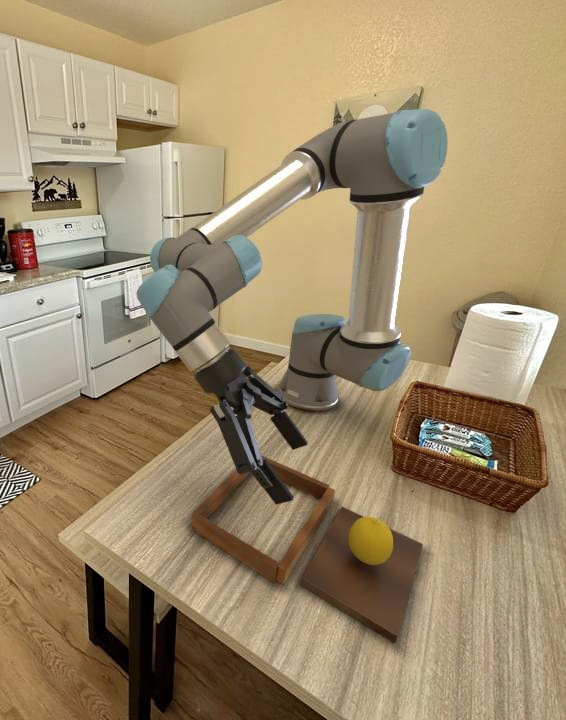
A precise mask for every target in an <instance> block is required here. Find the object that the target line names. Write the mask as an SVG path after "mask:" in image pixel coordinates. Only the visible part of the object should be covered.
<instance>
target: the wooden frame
mask: <svg viewBox="0 0 566 720" xmlns="http://www.w3.org/2000/svg"><path fill="white" fill-rule="evenodd" d="M260 455H261V458H262V460H265V459H266V460H267V461H268V462H269V464H270V465H271V466H272V468H273V469H274V471H275V472H276V473H277V475H278V476H279V477H280V479H281V480H282V481H283V483H284V484H286V485H289V486H291V487H294V488H296V489H298V490H300V491H302V492H304V493H305V494H309V495H311V496H313V497H314V498H317V499H319V501H318V503H317V505H316V506H315V507H314V509H313V511H312V512H311V513H310V516H308V519H307V520H306V522H305V523H304V525H303V526H302V528H301V529H300V531H299V533H298V534H297V536H296V537H295V539H294V540H293V542H292V543H291V545H290V546H289V548H288V550H287V552H286V553H285V555H284V556H283V557H282V559H281V560H280V562H279V561H277V560H275V559H274V558H272V557H271V556H269V555H267V554H266V553H264V552H262V551H261V550H259V549H257V548H255V547H254V546H252V545H250V543H247V542H246V541H244V540H242V539H241V538H239V537H237V536H236V535H234V534H232V533H231V532H230V531H228V530H226V529H224V528H222V527H221V526H219V525H218V524H216V523H214V522H212V521H211V520H209V518H210V517H211V515H213V513H214V512H215V511H216V510H217V509H218V508H219V507H220V506H221V505H222V504H223V503H224V501H225V500H226V499H227V498H228V497H229V496H230V495H231V494H232V493H233V492H234V491H235V490H236V489H237V487H239V486H240V484H241V483H242V482H243V481H244V480H245V479H246V478H247V477H248V476H249V475H250V474H251V472H247V473H245V474H242V475H240V474H239V473H238V472H237V470H236V469H234V470H233V471H232V472H231V473H230V474H229V475H228V476H227V477H226V478H225V479H224V480H223V481H222V483H221V484H219V486H218V487H217V488H215V489H214V491H212V492H211V493H210V494H209V495H208V496H207V498H206V499H204V501H202V502H201V504H199V505H198V506H197V508H195V510H193V512H192V513H191V527H192V528H194V529H195V530H194V532H195V533H196V534H197V535H199V536H200V537H202V538H204V539H206V540H207V541H208V542H210V543H211V544H213V545H215V546H216V547H217V548H219V549H221V550H222V551H224V552H226V553H227V554H229V555H230V556H231V557H233V558H235V559H236V560H238V561H239V562H241V563H243V564H244V565H245V566H247V567H249V568H250V569H252V570H253V571H255V572H256V573H258V574H260V575H261V576H263V577H264V578H266V579H267V580H269V581H270V582H272V583H275V582H276V581H277V582H278V583H280V584H282V586H283V585H285V583H286V582H287V580H288V579H289V577H290V575H291V574H292V572H293V570H294V568H295V567H296V565H297V563H298V562H299V560H300V558H301V556H302V555H303V552H304V551H305V550H306V548H307V546H308V545H309V543H310V541H311V539H312V538H313V536H314V534H315V533H316V532H317V530H318V528H319V527H320V525H321V522H322V521H323V519H324V518H325V516H326V515H327V512H328V511H329V509H330V507H331V505H332V504H333V502H334V497H335V493H336V489H334V488H332V487H330V484H328V483H326V482H323V481H321V480H318V479H317V478H314V477H312V476H310V475H307V474H305V473H304V472H300V471H298V470H296V469H294V468H292V467H289V466H287V465H285V464H282V463H280V462H278V461H276V460H273V459H271V458H268V457H267V456H264V455H262V454H260ZM253 458H254V457H253Z"/></svg>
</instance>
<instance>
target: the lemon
mask: <svg viewBox="0 0 566 720" xmlns="http://www.w3.org/2000/svg"><path fill="white" fill-rule="evenodd" d="M390 529H391V528H389V526H388V525H387V524H386V523H385V522H383V520H381V519H379V518H377V517H373V516H363V517H362V518H360V519H358V520H357V521H356V522H355V523H354V524H353V525H352V527H351V529H350V532H349V537H348V538H349V546H350V549H351V551H352V552H353V554H354V555H355V556H356V557H357V558H358V559H359V560H360V561H362V562H364V563H366V564H369V565H379V564H382V563H384V562H385V561H386V560H387V559H388V558H389V557H390V555H391V553H392V550H393V536H392V533H391V531H390Z"/></svg>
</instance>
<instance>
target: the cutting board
mask: <svg viewBox="0 0 566 720" xmlns="http://www.w3.org/2000/svg"><path fill="white" fill-rule="evenodd" d="M362 517H364V516H363V515H361V514H359V513H358V512H354V511H352V510H350V509H349V508H346V507H344V506H341V507H340V508H339V510H338V513H337V514H336V515H335V518H334V519H333V521H332V523H331V524H330V526H329V529H328V530H327V532H326V533H325V535H324V537H323V540H322V541H321V543H320V545H319V547H318V549H317V550H316V552H315V554H314V555H313V557H312V559H311V560H310V563H309V564H308V566H307V568H306V570H305V572H304V574H303V575H302V577H301V579H300V585H301V587H303V588H305V589H307V590H308V591H310V592H311V593H313V594H314V595H316V596H318V597H319V598H321V599H323V600H324V601H326V602H327V603H329V604H331V605H332V606H334V607H336V609H339V610H340V611H342V612H343V613H345V614H347V615H349V617H351V618H353V619H355V620H357V621H358V622H360V623H361V624H363V625H365V626H366V627H368V628H369V629H371V630H373V631H374V632H376V633H377V634H379V635H381V636H382V637H384V638H385V639H387V640H388V641H390V642H392V643H393V644H396V642H397V640H398V637H399V634H400V630H401V626H402V623H403V619H404V617H405V616H404V615H405V611H406V608H407V605H408V601H409V598H410V593H411V589H412V588H413V583H414V579H415V576H416V572H417V568H418V565H419V560H420V557H421V553H422V550H423V547H424V544H423V543H422V542H420V541H417V540H415V539H413V538H411V537H409V536H407V535H404V534H403V533H400V532H398V531H396V530H393V529H392V528H389V529H390V531H391V533H392V536H393V550H392V553H391V555H390V557H389V558H388V559H387V560H386V561H385V562H384V563H382V564H379V565H369V564H366V563H364V562H362V561H360V560H359V559H358V558H357V557H356V556H355V555H354V554H353V552H352V551H351V549H350V546H349V538H348V537H349V532H350V529H351V527H352V525H353V524H354V523H355V522H356V521H357V520H358V519H360V518H362Z"/></svg>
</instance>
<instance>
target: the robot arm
mask: <svg viewBox="0 0 566 720" xmlns="http://www.w3.org/2000/svg"><path fill="white" fill-rule="evenodd" d="M448 142H449V141H448V132H447V128H446V125H445V122H444V121H443V120H442V118H441V116H440V114H438V113H437V112H436V111H434V110H432V109H429V108H418V109H402V110H399V111H395V112H390V113H385V114H379V115H374V116H368V117H363V118H359V119H351V120H345V121H343V122H340V123H337V124H335V125H333V126H330V127H329V128H327V129H325V130H324V131H321V132H320V133H318V134H317V135H315V136H313V137H312V138H310V139H308V140H307V141H305V142H304V143H302V144H301V145H299V146H298V147H296V148H295V149H293V150H292V151H291V152H289V153H287V154H286V155H285V156H284V158H283V159H282V160H281V164H280V166H278V167H277V168H275V169H273V170H272V171H271V172H270V173H268V174H266V175H265V176H264V177H262V178H261V179H260V180H258V181H256V182H255V183H253V184H252V185H250V187H248V188H247V189H245V190H244V191H242V192H241V193H239V194H238V195H236V196H235V197H233V198H232V199H231V200H229V201H228V202H226V203H225V204H224V205H222V206H221V207H219V208H218V209H216V210H214V211H213V212H212V213H211V214H209V215H208V216H206V217H205V218H204V219H202V220H201V221H199V222H198V223H196V224H195V225H193V226H192V227H191V228H189V229H188V230H186V231H184V232H183V233H181V234H180V235H179V236H177V237H174V236H173V237H164V238H161V239H160V240H158V241H157V242H156V243H154V244H153V246H152V249H151V251H150V255H149V256H150V257H149V261H150V262H149V263H150V266H151V269H152V270H153V272H154V273H152V274H151V275H150V276H148V277H147V278H146V279H145V280H144V281H143V282H142V283H141V284H140V285H139V286H138V288H137V289H136V292H135V293H136V294H135V295H136V299H137V300H138V302H139V304H140V305H141V307H142V309H143V310H144V312H145V313H146V314H147V316H148V319H149V320H150V321H152V323H153V324H154V326H155V327H156V328H157V329H158V330H159V332H160V333H161V334H162V337H164V338H165V340H166V341H167V342H168V343H169V345H170V347H172V349H173V351H175V353H176V354H177V356H178V357H179V359H180V360H181V362H182V363H183V364H184V366H185V367H186V368H187V369H188V371H189V372H194V373H193V379H194V380H195V381H196V382H197V384H198V385H199V387H200V388H201V389H202V390H203V392H204V393H205V394H207V395H208V394H212V395H213V394H214V396H215V397H216V398H217V400H218V403H216V404H214V405H212V406H211V407H209V411H210V413H211V415H212V417H213V418H214V419H215V421H216V423H217V425H218V428H219V429H220V432H221V435H222V438H223V440H224V442H225V445H226V447H227V450H228V452H229V455H230V457H231V460H232V462H233V465H234V468H235V470H237V472H238V473H239V474H240V475H242V474H245V473H247V472H250V474H252V477H254V479H255V480H256V482H257V483H258V484H259V485H260V487H261V488H262V489H263V490H264V492H265V493H266V494H267V495H268V496H269V498H270V499H271V500H272V502H273V503H274V504H275V505H276V506H277V505H280V504H284V503H287V502H291V501H292V502H293V500H294V498H295V497H294V495H293V493H292V492H291V491H290V490H289V488H288V486H287V485H286V483H285V482H283V481H282V480H281V479H280V477H279V476H278V475H277V473H276V472H275V471H274V469H273V468H272V466H271V465H270V464H269V462H268V461H267V460H266V459H265V460H262V458H261V455H262V454H261V451H260V449H259V445H258V441H257V438H256V434H255V431H254V428H253V424H252V421H251V418H252V417H253V414H252V410H253V409H252V407H254V408H256V409H258V410H260V411H262V412H264V413H265V414H268V415H270V416H271V417H270V419H269V420H270V421H271V423H272V424H273V425H274V427H275V428H276V429H277V430H278V432H279V433H280V434H281V436H282V438H283V439H284V440H285V441H286V444H287V445H288V446H289V447H290V448H291V450H293V451H294V450H297V449H300V448H302V447H305V446H308V443H309V442H308V440H307V439H306V438H305V436H304V435H303V433H302V432H301V431H300V429H299V428H298V426H297V425H296V424H295V422H294V421H293V420H292V418H291V416H289V414H288V413H287V412H286V410H287V409H289V407H292V408H295V409H297V410H303V411H309V412H326V411H329V410H332V409H334V408H335V407H336V406H337V405H338V400H339V391H338V386H337V381H336V377H339V378H341V379H343V380H346V381H348V382H350V383H352V384H355V385H358V387H359V388H365V389H367V390H369V391H373V392H383V391H386V390H388V388H390V387H392V385H394V384H396V382H397V381H398V380H399V379H400V378H401V376H403V374H404V372H405V371H406V369H407V367H408V366H409V363H410V360H411V358H412V357H411V356H412V351H411V349H410V346H408V345H407V344H406V343H401V336H402V329H401V328H400V327H399V326H398V325H397V324H396V323H395V321H396V320H395V319H396V313H397V305H398V299H399V293H400V285H401V278H402V271H403V265H404V257H405V251H406V245H407V238H408V231H409V225H410V218H411V211H412V206H413V204H414V203H416V202H417V201H418V200H419V199H420V198H421V197H423V196H424V192H425V191H424V190H425V187H427V186H429V185H431V184H433V182H435V180H436V179H437V178H438V177H439V176H440V174H441V172H442V171H441V168H443V167H444V165H445V162H446V160H447V159H446V158H447V153H448V144H449V143H448ZM333 189H349V203H350V204H351V205H352V206H353V207H354V208H355V209H356V211H357V214H356V225H355V236H354V247H353V248H354V250H353V260H352V274H351V284H350V294H349V295H350V296H349V308H348V319H347V321H346V318H345V317H344V316H342V315H338V314H331V313H314V314H305V315H302V316H300V317H297V318H296V320H295V321H294V324H293V328H292V332H291V339H290V348H289V355H288V364H287V369H286V371H285V372H284V374H283V376H282V378H281V380H280V381H279V383H278V386H277V390H276V389H275V388H273V387H272V386H271V385H270V384H269V383H268V382H266V381H265V380H264V379H263V378H261V376H260V375H258V374H257V373H256V372H255V371H254V369H253V368H252V367H251V366H250V365H247V364H246V362H245V360H244V359H243V357H242V356H241V355H240V354H239V352H238V351H237V350H236V349H235V347H230V344H231V341H230V339H229V338H228V337H227V335H226V334H225V332H223V330H222V329H221V328H220V326H219V325H218V323H216V320H214V318H213V317H212V315H211V314H210V312H212V311H213V310H215V309H216V308H217V307H218V306H220V305H221V304H223V303H224V302H225V301H226V300H228V299H230V298H231V297H232V296H234V295H235V294H236V293H238V292H240V291H241V290H242V289H244V288H246V287H247V286H248V284H249V283H250V282H252V281H253V280H255V278H256V277H258V275H260V273H261V271H262V269H263V259H262V257H261V252H260V250H259V248H258V247H257V246H256V245H255V243H254V242H253V241H252V240H251V239H250V238H249V237H250V236H251V235H253V234H254V233H256V232H257V231H258V230H259V229H261V228H262V227H264V226H265V225H267V224H268V223H269V222H270V221H271V222H272V220H273V219H275V218H276V217H277V216H279V215H280V214H282V213H283V212H285V211H286V210H287V209H289V208H290V207H291V206H293V205H294V204H295V203H297V202H299V201H300V200H303V201H304V200H305V201H306V200H309V199H311V198H313V197H314V196H315V195H317V194H318V193H321V192H324V191H327V190H333ZM253 457H254V458H253Z"/></svg>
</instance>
